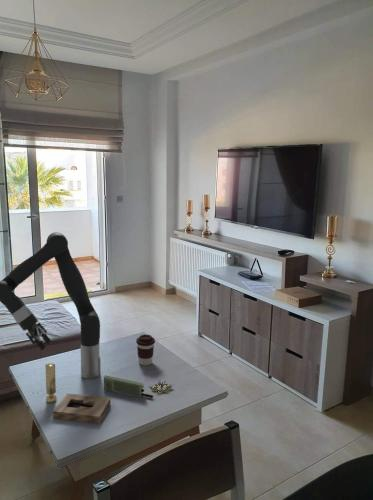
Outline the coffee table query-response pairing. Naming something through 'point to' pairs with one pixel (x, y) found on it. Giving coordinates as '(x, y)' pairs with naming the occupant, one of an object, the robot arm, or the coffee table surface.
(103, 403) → the keyhole plate
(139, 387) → the handheld radio
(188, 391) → the coffee table surface
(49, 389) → the brass peg
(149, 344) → the coffee cup
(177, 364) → the coffee table surface
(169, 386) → the lily flower
